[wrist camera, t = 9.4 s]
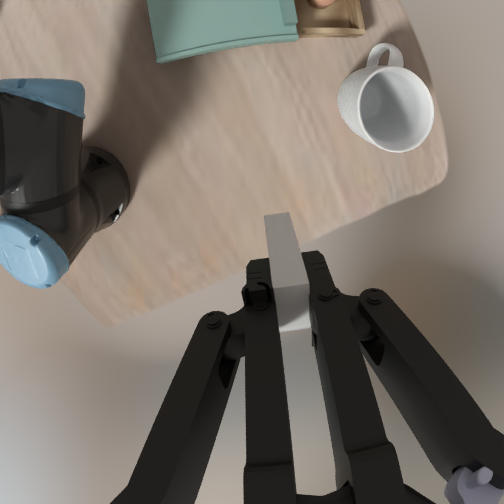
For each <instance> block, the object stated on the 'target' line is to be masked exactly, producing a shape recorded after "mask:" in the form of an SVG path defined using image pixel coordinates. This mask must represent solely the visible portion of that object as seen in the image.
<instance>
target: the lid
mask: <svg viewBox="0 0 504 504" xmlns="http://www.w3.org/2000/svg"><path fill="white" fill-rule="evenodd" d="M147 6H148V12H149V18H150V24H151V30H152V36H153V41H154V47H155V52H156V58H157V59H156V62H157V63H160V64H165V63H168V62H172V61H176V60H180V59H184V58H188V57H192V56H196V55H201V54H206V53H211V52H216V51H221V50H227V49H233V48H239V47H246V46H253V45H262V44H271V43H283V42H295V41H296V40H298V39H299V36H298V34H297V28H296V24H297V23H298V20H297V14H296V9H295V4H294V0H147Z"/></svg>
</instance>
